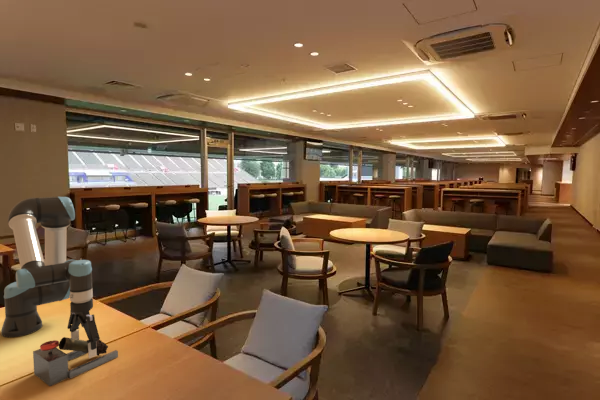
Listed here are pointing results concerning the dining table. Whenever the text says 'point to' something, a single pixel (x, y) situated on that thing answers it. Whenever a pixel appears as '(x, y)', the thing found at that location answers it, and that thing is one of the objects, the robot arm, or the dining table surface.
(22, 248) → the robot arm
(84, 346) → the morel mushroom
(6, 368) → the dining table surface
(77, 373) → the cradle
